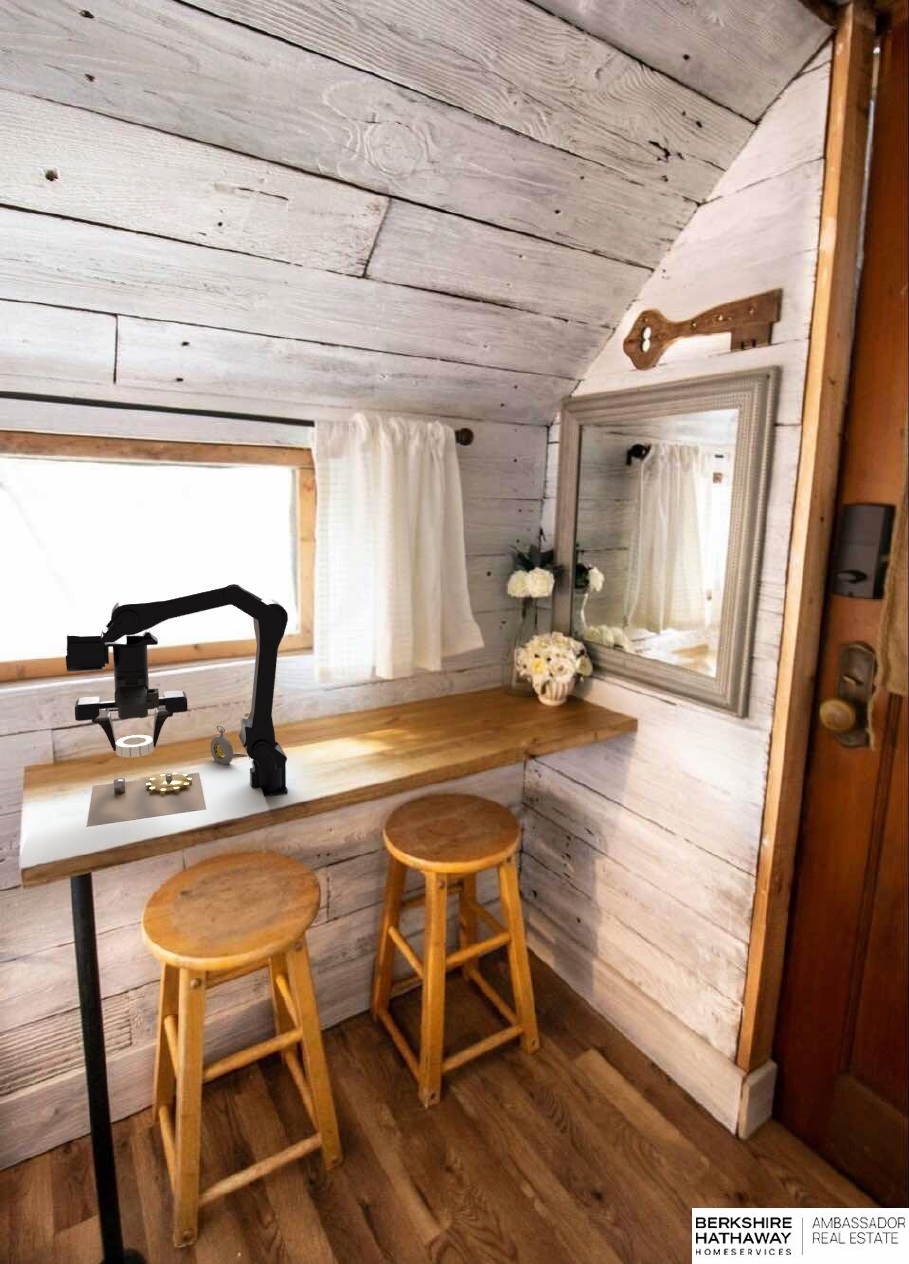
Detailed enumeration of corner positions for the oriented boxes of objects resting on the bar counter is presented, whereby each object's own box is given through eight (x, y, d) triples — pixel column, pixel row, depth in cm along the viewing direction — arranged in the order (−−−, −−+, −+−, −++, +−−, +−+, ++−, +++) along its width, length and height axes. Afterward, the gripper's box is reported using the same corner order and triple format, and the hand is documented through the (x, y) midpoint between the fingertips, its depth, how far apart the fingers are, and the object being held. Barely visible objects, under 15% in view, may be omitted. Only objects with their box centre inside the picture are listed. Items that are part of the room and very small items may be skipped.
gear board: (199, 779, 145) (199, 772, 145) (206, 816, 129) (206, 808, 129) (93, 792, 137) (93, 785, 137) (87, 834, 121) (86, 826, 121)
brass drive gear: (190, 775, 143) (190, 764, 143) (193, 791, 136) (192, 780, 136) (146, 780, 140) (145, 770, 139) (146, 797, 132) (145, 786, 132)
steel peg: (125, 789, 136) (125, 777, 135) (125, 793, 134) (124, 781, 133) (114, 791, 135) (113, 778, 134) (114, 795, 133) (113, 782, 132)
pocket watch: (253, 758, 158) (252, 716, 156) (243, 772, 149) (242, 729, 147) (217, 757, 157) (216, 715, 155) (205, 771, 149) (204, 728, 147)
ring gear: (152, 743, 133) (152, 733, 133) (154, 754, 127) (153, 744, 127) (116, 747, 130) (115, 737, 130) (116, 759, 125) (115, 748, 124)
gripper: (70, 683, 114) (76, 770, 118) (188, 675, 123) (191, 757, 126) (74, 667, 124) (79, 748, 127) (184, 661, 132) (186, 737, 135)
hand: (134, 748), depth 129 cm, fingers closed on ring gear, 6 cm apart
